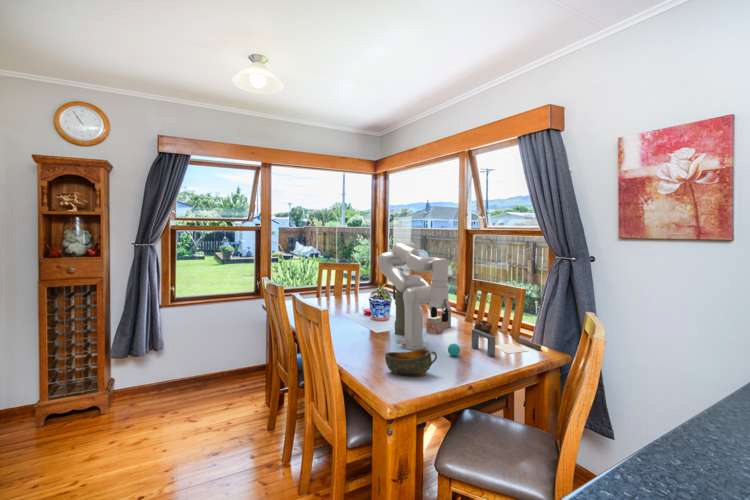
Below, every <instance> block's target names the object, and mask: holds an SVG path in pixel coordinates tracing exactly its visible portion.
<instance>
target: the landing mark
mask: <svg viewBox="0 0 750 500" xmlns="http://www.w3.org/2000/svg"><path fill="white" fill-rule="evenodd" d="M495 349H496V350H500V351H501V352H504V353H506V354H510V355H511V354H518V353H525V352H529V350H528V349H526V348H524V347H521V346H518V345H517V344H513V343H504V344H495Z"/></svg>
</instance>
